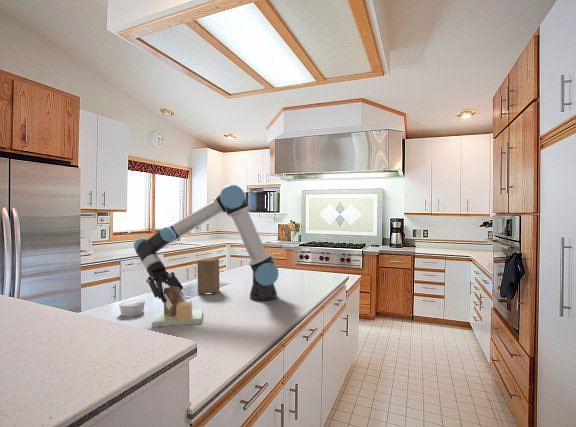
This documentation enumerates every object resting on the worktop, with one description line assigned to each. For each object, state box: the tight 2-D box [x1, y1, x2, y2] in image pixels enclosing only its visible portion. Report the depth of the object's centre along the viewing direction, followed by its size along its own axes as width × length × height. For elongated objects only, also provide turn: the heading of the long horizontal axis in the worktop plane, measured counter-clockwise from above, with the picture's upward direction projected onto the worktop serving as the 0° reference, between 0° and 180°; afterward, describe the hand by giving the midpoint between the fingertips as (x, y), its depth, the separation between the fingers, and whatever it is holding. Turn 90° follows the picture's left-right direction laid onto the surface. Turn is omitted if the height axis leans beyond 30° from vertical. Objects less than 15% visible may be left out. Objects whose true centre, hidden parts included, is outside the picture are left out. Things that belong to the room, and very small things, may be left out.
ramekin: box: [119, 299, 146, 317], centre depth 154 cm, size 11×11×5 cm
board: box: [151, 308, 204, 328], centre depth 143 cm, size 20×14×2 cm
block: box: [196, 257, 220, 295], centre depth 192 cm, size 10×10×20 cm
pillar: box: [163, 286, 180, 317], centre depth 144 cm, size 5×5×12 cm
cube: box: [176, 301, 193, 320], centre depth 140 cm, size 6×6×6 cm
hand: (177, 305), depth 143 cm, fingers open, 7 cm apart
